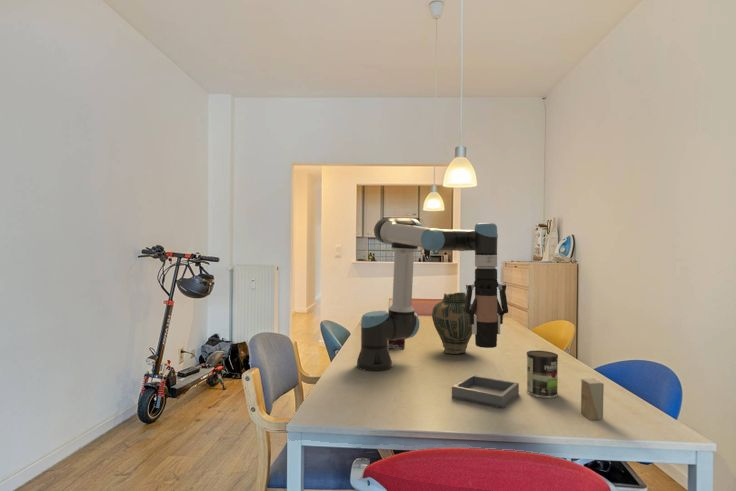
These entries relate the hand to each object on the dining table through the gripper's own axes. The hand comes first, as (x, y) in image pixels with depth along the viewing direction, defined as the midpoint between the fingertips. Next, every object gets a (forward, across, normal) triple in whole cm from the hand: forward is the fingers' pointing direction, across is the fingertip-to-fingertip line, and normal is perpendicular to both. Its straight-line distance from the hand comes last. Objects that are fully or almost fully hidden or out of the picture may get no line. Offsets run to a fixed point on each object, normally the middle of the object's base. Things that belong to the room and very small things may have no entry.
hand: (485, 333), depth 152 cm
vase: (+22, +7, +65) cm, 69 cm away
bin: (+22, 0, 0) cm, 22 cm away
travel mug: (+4, 0, 0) cm, 4 cm away
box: (+22, +26, -20) cm, 40 cm away
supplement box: (+22, -20, +76) cm, 81 cm away
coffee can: (+22, +21, +2) cm, 30 cm away
